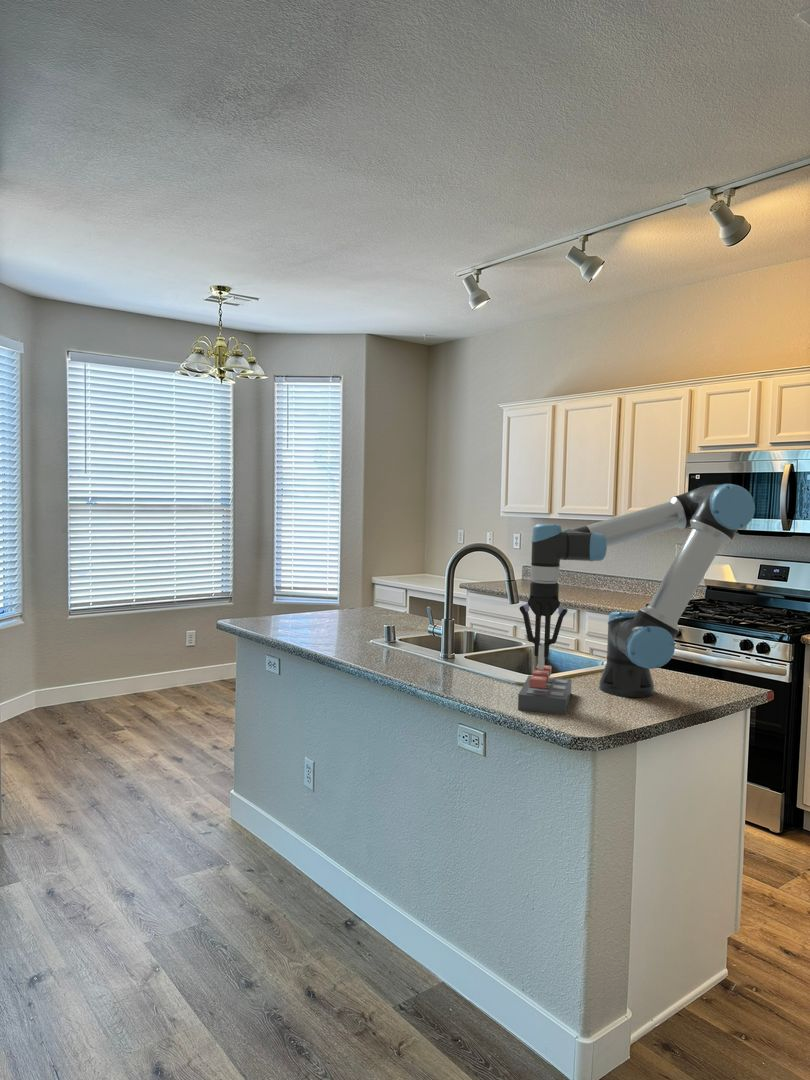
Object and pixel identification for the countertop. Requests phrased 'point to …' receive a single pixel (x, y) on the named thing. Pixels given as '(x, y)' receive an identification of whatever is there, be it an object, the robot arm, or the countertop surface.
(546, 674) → the button
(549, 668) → the button
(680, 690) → the countertop surface
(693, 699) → the countertop surface
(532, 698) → the dark grey flat block
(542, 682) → the button
